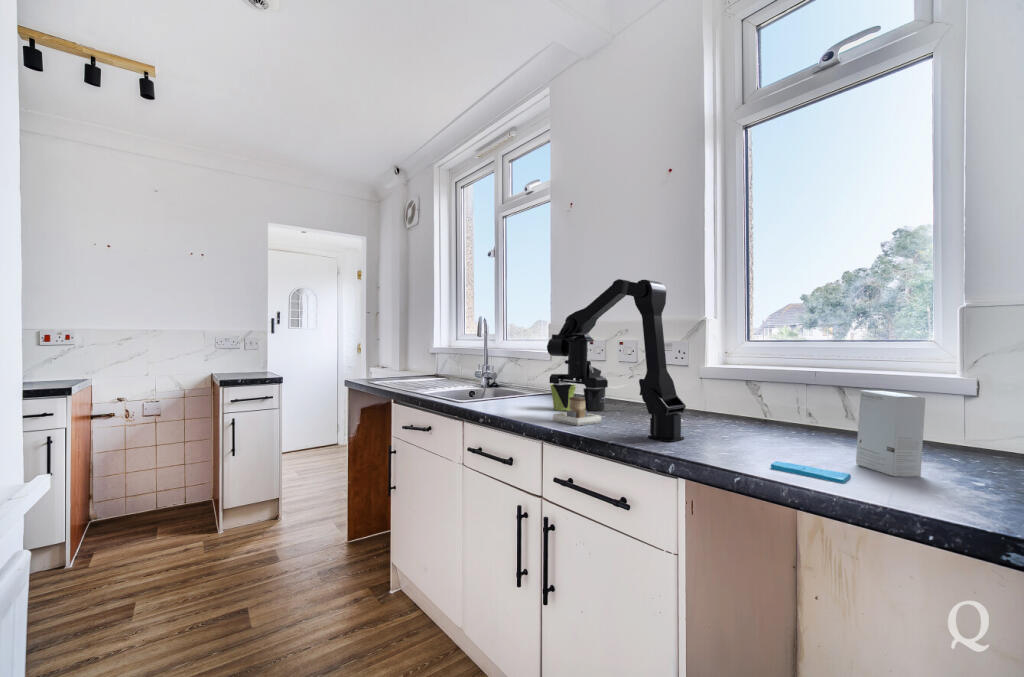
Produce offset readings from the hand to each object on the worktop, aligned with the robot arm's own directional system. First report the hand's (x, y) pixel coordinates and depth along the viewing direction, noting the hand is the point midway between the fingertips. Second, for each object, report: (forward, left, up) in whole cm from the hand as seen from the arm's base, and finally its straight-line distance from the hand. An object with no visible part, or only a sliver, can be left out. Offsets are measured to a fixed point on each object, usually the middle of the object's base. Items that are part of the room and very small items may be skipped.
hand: (577, 409), depth 133 cm
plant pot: (+19, -13, -4) cm, 23 cm away
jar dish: (0, 0, -4) cm, 4 cm away
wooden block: (0, 0, -2) cm, 3 cm away
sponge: (-61, +3, -4) cm, 62 cm away
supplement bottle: (+13, -23, -4) cm, 27 cm away
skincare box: (-70, -11, -4) cm, 71 cm away
